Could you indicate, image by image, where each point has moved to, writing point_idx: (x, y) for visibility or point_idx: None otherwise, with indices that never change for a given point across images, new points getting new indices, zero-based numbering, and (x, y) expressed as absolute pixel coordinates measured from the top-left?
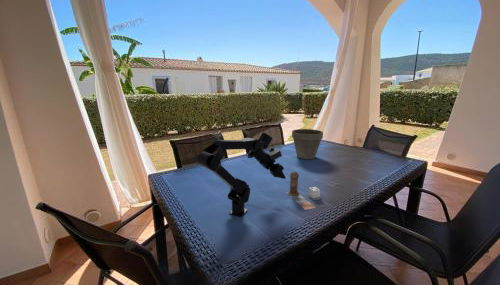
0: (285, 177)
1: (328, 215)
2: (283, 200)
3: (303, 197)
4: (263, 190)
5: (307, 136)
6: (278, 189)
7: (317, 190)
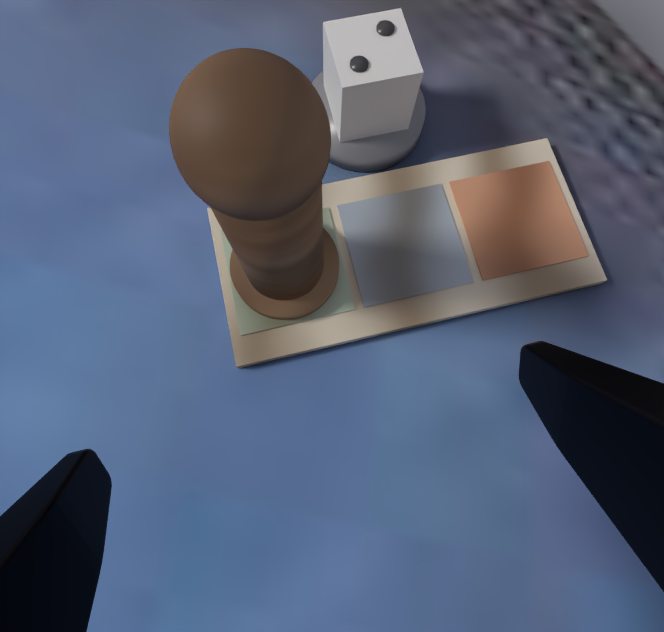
0: (545, 348)
1: (633, 115)
2: (389, 401)
3: (373, 201)
4: (124, 594)
5: None
6: (139, 398)
7: (409, 34)
